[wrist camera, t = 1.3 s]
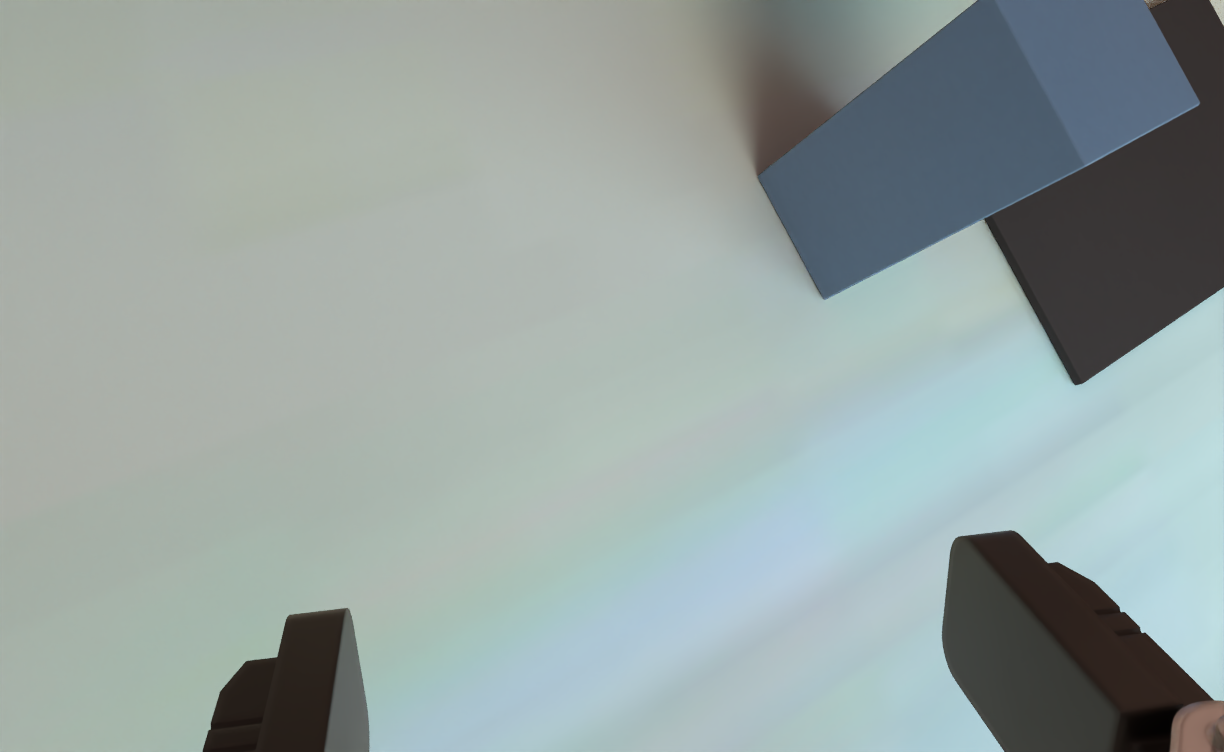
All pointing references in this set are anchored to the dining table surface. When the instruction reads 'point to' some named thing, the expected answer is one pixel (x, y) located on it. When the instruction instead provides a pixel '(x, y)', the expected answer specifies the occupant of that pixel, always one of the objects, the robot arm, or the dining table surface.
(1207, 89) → the mat
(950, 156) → the blue block
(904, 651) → the dining table surface
